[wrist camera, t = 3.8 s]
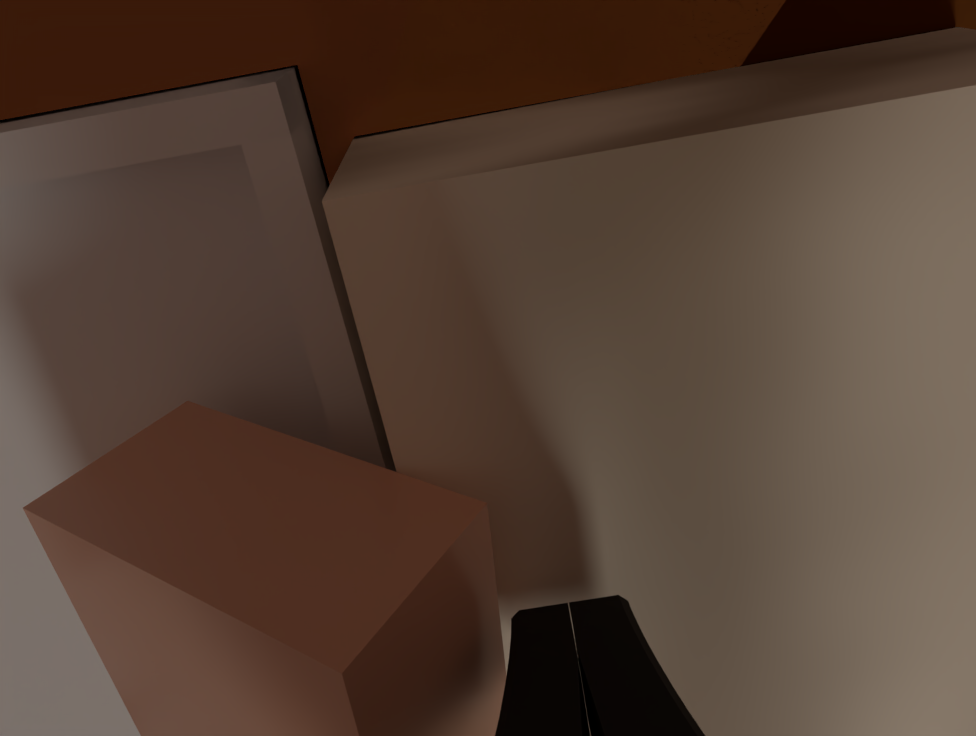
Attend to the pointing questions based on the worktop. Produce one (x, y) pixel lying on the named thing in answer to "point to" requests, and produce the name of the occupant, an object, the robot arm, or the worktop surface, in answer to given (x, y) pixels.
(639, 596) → the birch deck
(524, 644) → the robot arm
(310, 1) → the worktop surface
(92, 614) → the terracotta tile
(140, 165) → the grey tray
